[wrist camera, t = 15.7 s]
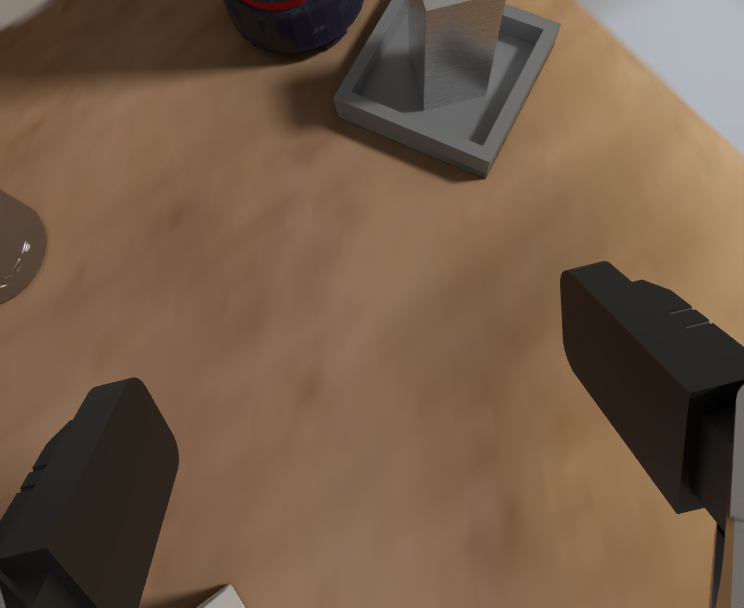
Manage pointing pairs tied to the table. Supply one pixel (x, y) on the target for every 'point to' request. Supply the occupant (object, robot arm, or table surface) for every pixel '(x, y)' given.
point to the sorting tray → (455, 121)
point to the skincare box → (223, 599)
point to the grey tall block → (452, 48)
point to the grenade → (293, 22)
